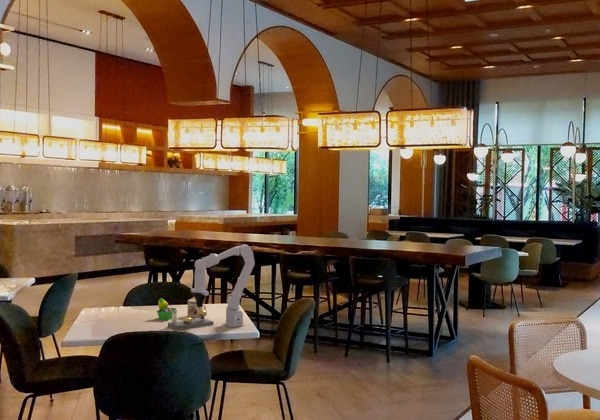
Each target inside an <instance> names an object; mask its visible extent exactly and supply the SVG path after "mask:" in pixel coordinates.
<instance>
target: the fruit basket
mask: <svg viewBox="0 0 600 420" xmlns="http://www.w3.org/2000/svg"><path fill="white" fill-rule="evenodd" d="M157 302H158V305H157V307H158V310H156V313H157V316H158V320H159V321H170V320H172V310H176V311H177V308H175V307H169V303H168V302H167V301H166V300H165V299H164V298H162V297H161V298H159V299H158V301H157Z"/></svg>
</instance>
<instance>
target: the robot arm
mask: <svg viewBox="0 0 600 420" xmlns="http://www.w3.org/2000/svg"><path fill="white" fill-rule="evenodd" d="M231 256H241V257H242V258H243V261H244V265H243V268H242V270H241V272H240V275H239V277H238V279H237V281H236V283H235V285H234V289H232V291H231V293H230V294H229V295H228V296H227V298H226V304H227V306H226V308H225V322H223V323H222V325H224V326H228V327H231V328H236V327H243V326H245V324H244V313H243V311H242V310H240V308H241V307H240V302H241V301H240V300H241V297H242V294H243V291H244V289H245V287H246V284H247V282H248V280H249V278H250V275H251V273H252V271H253V269H254V267H255V264H256V262H255V257H254V252H253V250H252V248H251V247H250V246H249V245H248V244H243V243H242V244H241V245H237V246H234V247H231V248H230V249H229V248H228V249H227V250H225V251H223V252H221V253H219V254H217V253H211V252H210V254H209V255H207V256H204V257H203V256H202V257H201V259H196V261H195V262H194V268H195V269H194V288H193V287H192V288H191V289H190V292H191V293H194V294H192V295H193V298H194V297H195V300H196V303H197V307H202V305H204V301H205V299H206V297H207V296H210V295H209V294H210V292H209V291H208V290H207V289H206V268H210V267H212V266H213V267H214V266H216V265H219V263H220V261H221V260H223V259H227V258H229V257H231Z"/></svg>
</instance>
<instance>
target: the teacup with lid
mask: <svg viewBox="0 0 600 420" xmlns="http://www.w3.org/2000/svg"><path fill="white" fill-rule="evenodd" d="M199 310H206V311H207V306H206V305H205V304H203V305H202V307H197V303H196V300H195V297H194V296H193V297H192V298H190V299H188V300H187V316H186V317H191V318H192V319H194V318H196V319H198V318H200V316H199V315H198V311H199Z"/></svg>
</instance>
